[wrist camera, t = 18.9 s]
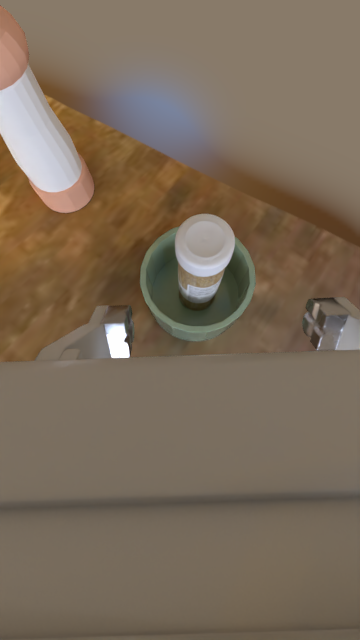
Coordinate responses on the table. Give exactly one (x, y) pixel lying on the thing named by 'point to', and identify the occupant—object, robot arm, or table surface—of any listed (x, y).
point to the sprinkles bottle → (202, 258)
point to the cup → (164, 289)
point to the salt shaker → (37, 128)
